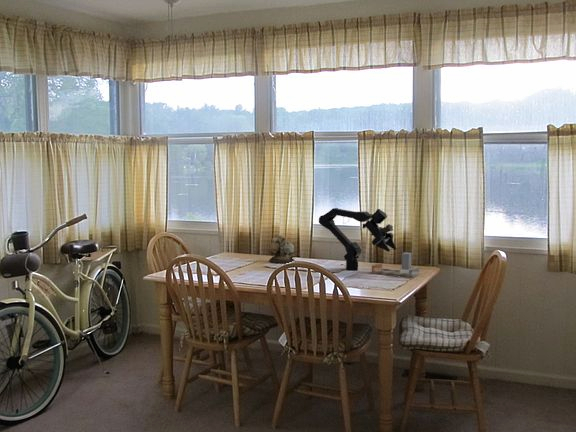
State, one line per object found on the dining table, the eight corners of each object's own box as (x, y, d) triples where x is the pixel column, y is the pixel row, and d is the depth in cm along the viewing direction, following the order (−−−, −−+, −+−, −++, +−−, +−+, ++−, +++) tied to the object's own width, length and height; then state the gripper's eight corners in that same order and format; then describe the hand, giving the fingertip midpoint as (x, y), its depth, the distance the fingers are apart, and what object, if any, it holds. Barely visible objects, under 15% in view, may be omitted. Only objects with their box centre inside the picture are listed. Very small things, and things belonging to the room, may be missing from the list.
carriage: (399, 273, 326) (400, 253, 325) (403, 271, 331) (404, 252, 330) (409, 274, 323) (409, 254, 322) (413, 272, 328) (413, 252, 327)
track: (371, 273, 333) (371, 265, 332) (378, 270, 341) (378, 263, 341) (412, 278, 320) (412, 269, 320) (418, 275, 328) (419, 267, 328)
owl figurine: (264, 263, 366) (264, 235, 365) (270, 260, 378) (270, 233, 376) (292, 264, 361) (292, 236, 360) (298, 261, 372) (298, 234, 371)
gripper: (377, 221, 324) (396, 242, 319) (390, 218, 339) (408, 239, 335) (364, 234, 329) (382, 255, 324) (377, 231, 344) (395, 251, 340)
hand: (392, 250), depth 330 cm, fingers open, 9 cm apart
